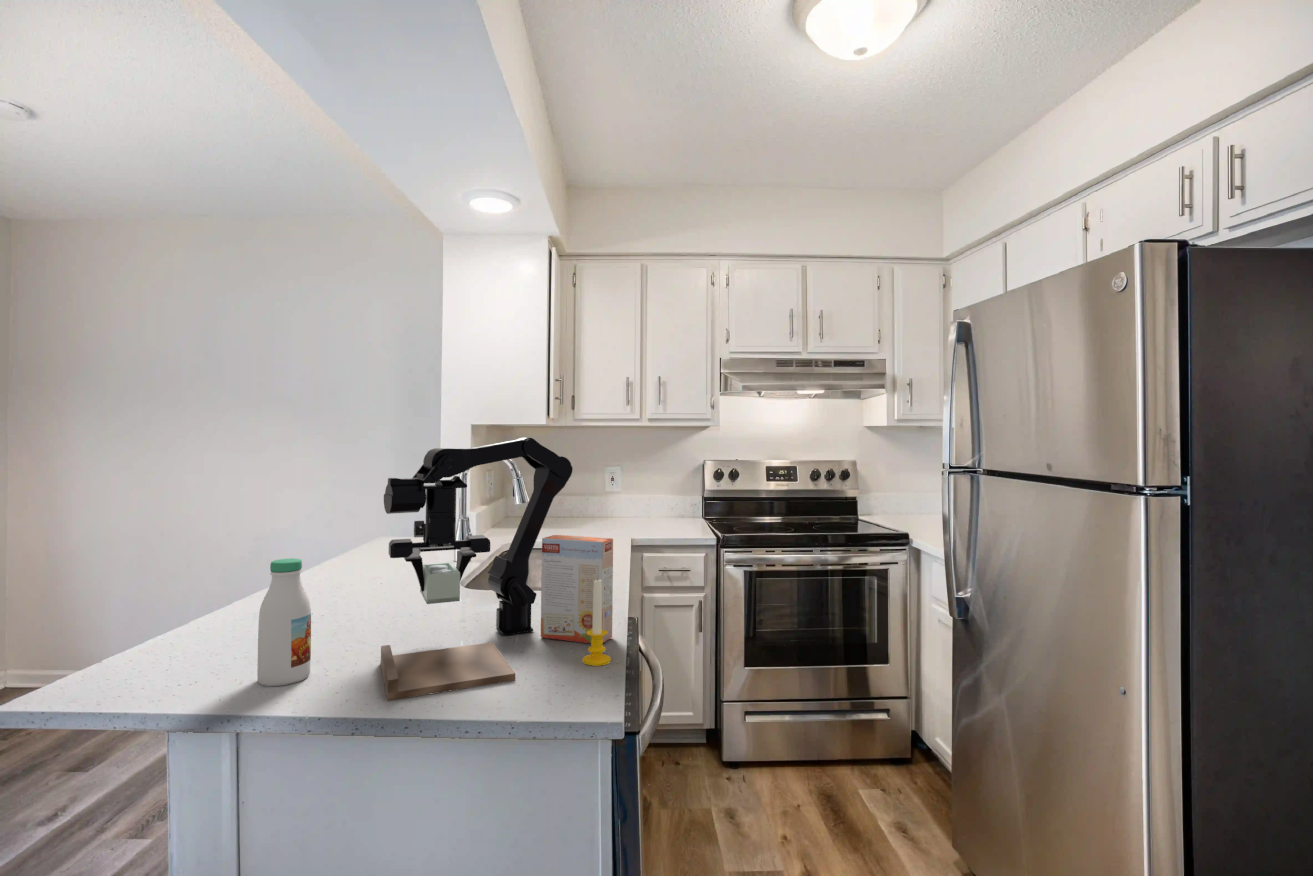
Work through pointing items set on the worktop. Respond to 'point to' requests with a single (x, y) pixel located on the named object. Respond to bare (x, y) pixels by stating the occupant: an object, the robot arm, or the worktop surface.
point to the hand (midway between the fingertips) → (439, 589)
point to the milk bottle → (284, 627)
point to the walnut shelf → (442, 670)
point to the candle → (597, 631)
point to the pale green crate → (441, 583)
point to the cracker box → (575, 586)
